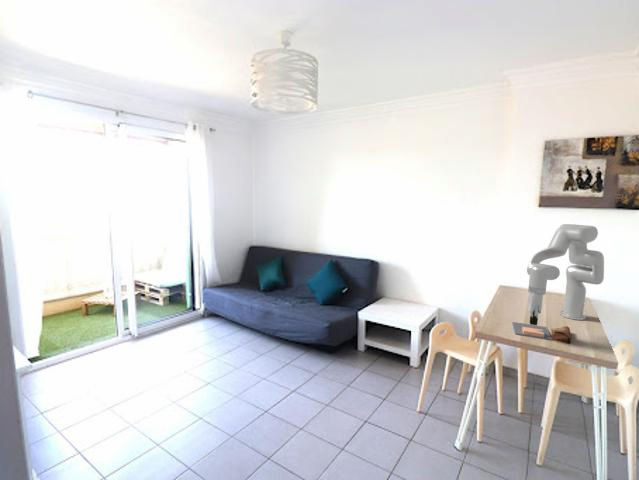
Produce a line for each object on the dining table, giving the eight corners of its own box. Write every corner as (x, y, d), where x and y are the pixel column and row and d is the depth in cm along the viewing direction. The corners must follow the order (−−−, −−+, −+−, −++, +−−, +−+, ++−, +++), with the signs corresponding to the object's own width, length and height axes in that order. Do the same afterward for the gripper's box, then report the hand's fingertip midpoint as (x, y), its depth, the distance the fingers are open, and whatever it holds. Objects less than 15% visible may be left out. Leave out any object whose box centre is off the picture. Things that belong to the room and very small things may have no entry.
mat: (512, 322, 190) (512, 321, 190) (545, 328, 183) (545, 327, 183) (515, 334, 174) (515, 333, 174) (552, 340, 167) (552, 339, 167)
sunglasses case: (550, 328, 182) (559, 319, 180) (563, 337, 180) (572, 329, 177) (549, 339, 168) (559, 330, 165) (563, 349, 165) (573, 340, 162)
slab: (522, 326, 178) (523, 330, 172) (542, 329, 175) (544, 334, 169) (521, 329, 179) (523, 334, 173) (541, 333, 175) (544, 337, 169)
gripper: (526, 285, 180) (523, 318, 182) (530, 292, 166) (526, 327, 169) (543, 287, 176) (539, 320, 179) (548, 294, 163) (544, 330, 165)
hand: (533, 324), depth 174 cm, fingers closed
